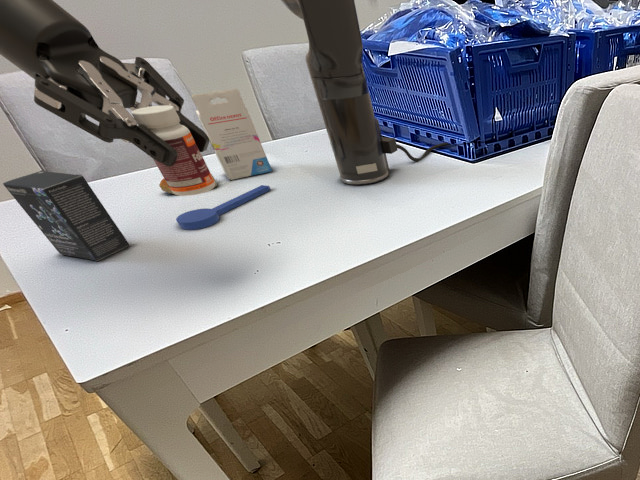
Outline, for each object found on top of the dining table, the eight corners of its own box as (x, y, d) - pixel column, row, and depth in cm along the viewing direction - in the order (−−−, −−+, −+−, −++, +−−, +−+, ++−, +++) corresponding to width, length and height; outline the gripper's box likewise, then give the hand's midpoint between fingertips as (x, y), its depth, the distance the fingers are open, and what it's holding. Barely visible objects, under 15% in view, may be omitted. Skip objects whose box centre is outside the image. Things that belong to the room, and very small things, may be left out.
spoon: (255, 188, 87) (252, 181, 86) (279, 191, 86) (277, 184, 85) (171, 227, 74) (167, 220, 74) (199, 231, 73) (195, 224, 72)
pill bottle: (220, 190, 54) (179, 109, 48) (175, 199, 52) (127, 116, 46) (213, 179, 56) (174, 101, 51) (170, 188, 55) (125, 108, 49)
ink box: (267, 166, 97) (234, 84, 87) (273, 171, 94) (239, 88, 84) (224, 174, 94) (185, 90, 83) (229, 180, 91) (189, 94, 80)
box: (59, 255, 68) (0, 182, 60) (95, 240, 71) (43, 169, 64) (97, 262, 66) (40, 187, 58) (132, 245, 70) (83, 173, 62)
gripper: (-70, -19, 37) (151, 146, 44) (78, -23, 47) (238, 111, 54) (-62, 61, 41) (137, 199, 48) (72, 41, 51) (221, 158, 58)
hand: (190, 152), depth 51 cm, fingers closed on pill bottle, 4 cm apart
